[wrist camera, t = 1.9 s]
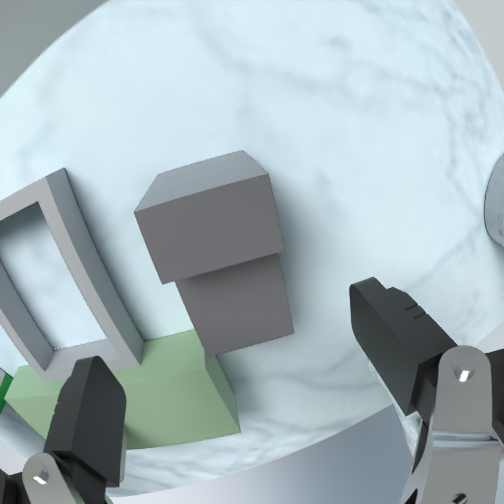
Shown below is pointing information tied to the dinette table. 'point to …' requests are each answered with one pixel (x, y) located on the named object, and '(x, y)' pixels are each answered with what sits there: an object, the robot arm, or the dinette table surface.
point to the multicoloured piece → (111, 345)
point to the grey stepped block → (220, 249)
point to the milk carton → (4, 387)
